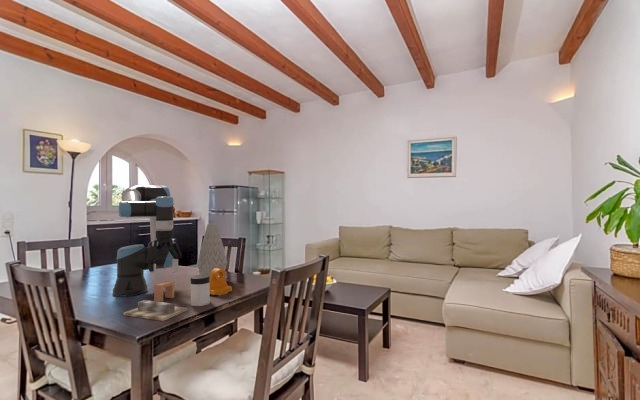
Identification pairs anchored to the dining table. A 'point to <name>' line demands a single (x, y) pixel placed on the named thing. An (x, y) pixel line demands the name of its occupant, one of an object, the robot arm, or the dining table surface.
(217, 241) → the vase
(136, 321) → the dining table surface
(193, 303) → the jar
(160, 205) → the robot arm
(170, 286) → the clip
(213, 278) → the bracket
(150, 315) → the rail board
